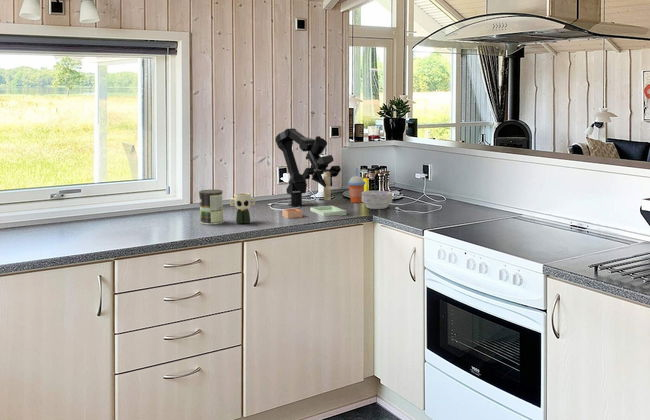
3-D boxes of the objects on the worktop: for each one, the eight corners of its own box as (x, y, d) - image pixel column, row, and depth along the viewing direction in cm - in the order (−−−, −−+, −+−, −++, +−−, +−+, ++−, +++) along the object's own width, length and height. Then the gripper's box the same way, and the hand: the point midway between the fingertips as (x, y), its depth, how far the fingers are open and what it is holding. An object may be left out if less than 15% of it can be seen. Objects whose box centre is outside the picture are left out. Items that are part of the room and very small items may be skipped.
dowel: (322, 199, 296) (322, 172, 294) (326, 198, 299) (325, 171, 297) (328, 200, 295) (327, 172, 292) (331, 199, 297) (331, 171, 295)
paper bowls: (392, 205, 321) (392, 189, 319) (392, 210, 306) (392, 194, 304) (362, 205, 322) (361, 189, 320) (361, 210, 307) (361, 194, 306)
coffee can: (199, 225, 276) (197, 193, 273) (201, 220, 286) (200, 189, 283) (222, 224, 277) (221, 192, 274) (224, 219, 287) (223, 189, 284)
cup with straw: (365, 200, 335) (365, 166, 332) (365, 203, 326) (365, 168, 323) (348, 200, 336) (348, 166, 333) (347, 203, 327) (347, 168, 324)
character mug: (230, 225, 275) (229, 195, 272) (230, 222, 282) (229, 193, 279) (256, 224, 276) (255, 194, 274) (255, 221, 283) (254, 192, 281)
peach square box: (282, 217, 292) (282, 209, 291) (296, 215, 295) (296, 208, 294) (287, 219, 286) (287, 212, 285) (302, 218, 289) (302, 210, 288)
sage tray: (310, 211, 304) (310, 207, 304) (332, 209, 309) (332, 205, 309) (323, 217, 290) (323, 212, 290) (346, 215, 295) (346, 210, 295)
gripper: (305, 150, 291) (317, 176, 284) (338, 148, 301) (352, 173, 294) (296, 166, 299) (309, 192, 292) (330, 163, 309) (342, 188, 302)
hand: (328, 186), depth 295 cm, fingers closed on dowel, 3 cm apart
